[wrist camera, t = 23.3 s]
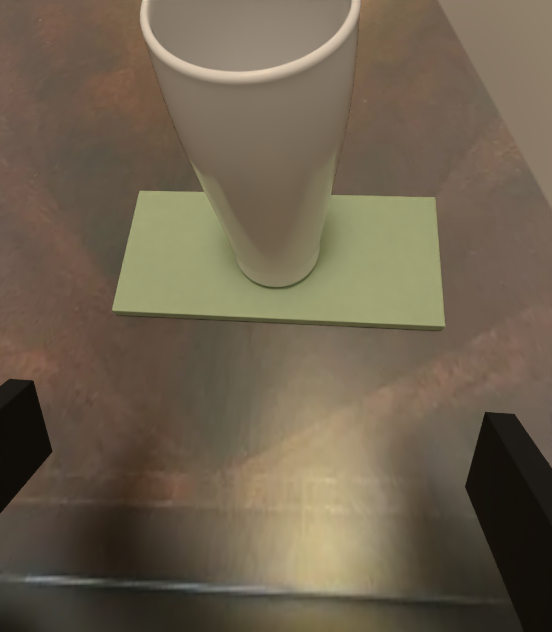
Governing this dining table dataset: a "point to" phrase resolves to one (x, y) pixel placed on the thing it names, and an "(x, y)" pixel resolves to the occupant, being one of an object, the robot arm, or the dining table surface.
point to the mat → (301, 297)
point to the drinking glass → (259, 116)
